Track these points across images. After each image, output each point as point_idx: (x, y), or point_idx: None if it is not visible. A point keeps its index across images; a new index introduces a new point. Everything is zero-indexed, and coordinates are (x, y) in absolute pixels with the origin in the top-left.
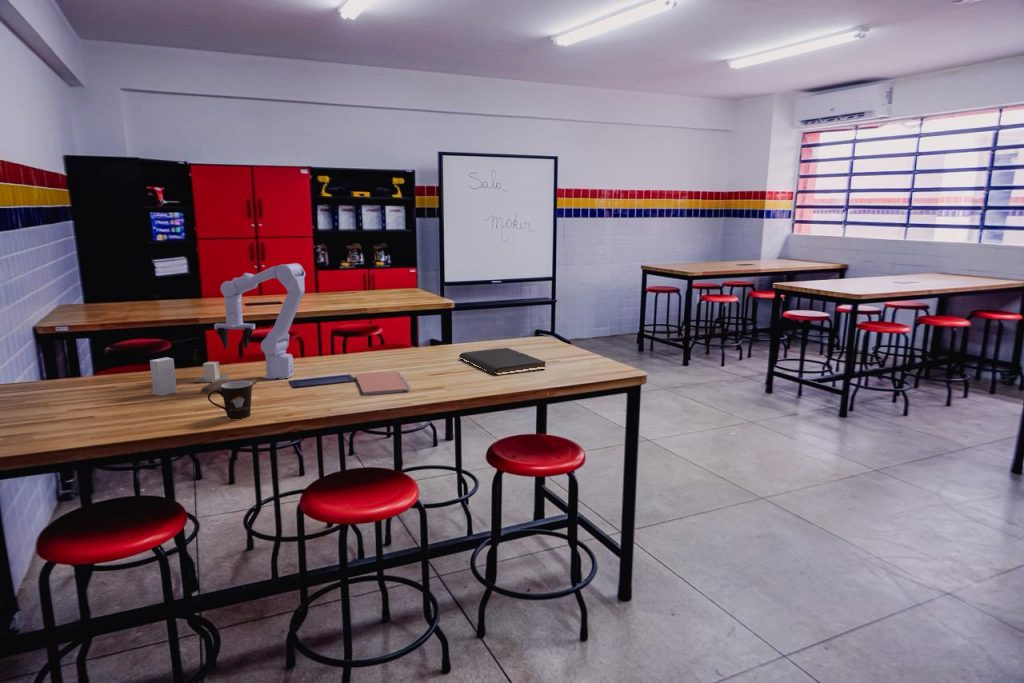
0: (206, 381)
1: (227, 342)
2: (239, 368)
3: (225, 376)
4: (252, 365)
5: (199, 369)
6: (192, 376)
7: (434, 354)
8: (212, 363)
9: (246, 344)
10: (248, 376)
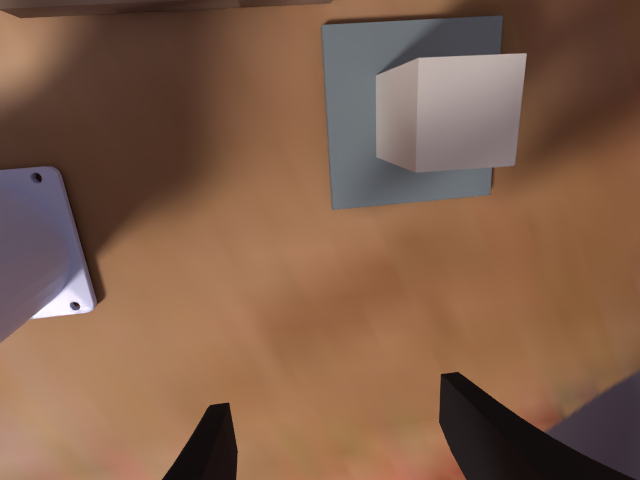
0: (419, 20)
1: (466, 465)
2: (367, 406)
3: (349, 182)
4: (325, 474)
5: (575, 355)
6: (565, 196)
7: None
8: (444, 83)
9: (190, 437)
10: (212, 232)
